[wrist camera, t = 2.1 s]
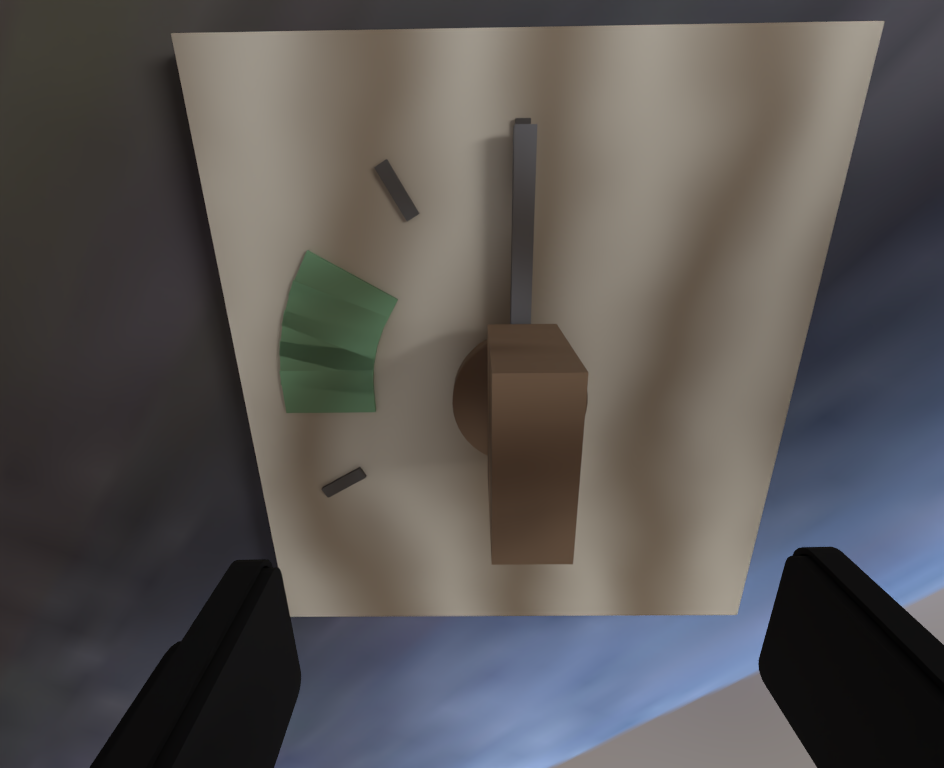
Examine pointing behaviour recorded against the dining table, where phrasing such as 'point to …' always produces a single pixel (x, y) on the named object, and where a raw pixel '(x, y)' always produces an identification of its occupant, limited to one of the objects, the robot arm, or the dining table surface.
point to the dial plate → (489, 284)
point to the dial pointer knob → (526, 404)
